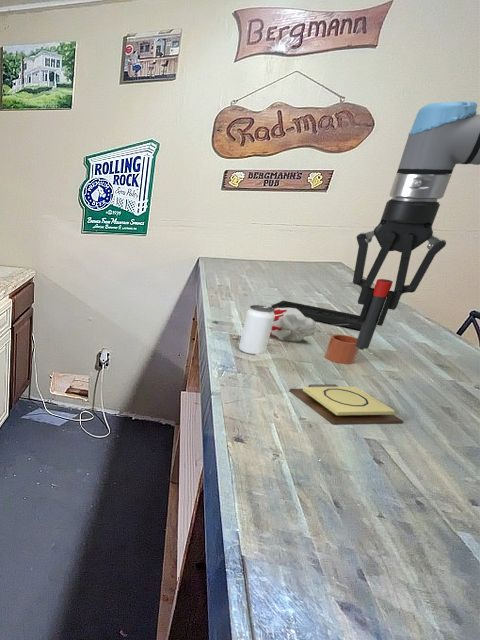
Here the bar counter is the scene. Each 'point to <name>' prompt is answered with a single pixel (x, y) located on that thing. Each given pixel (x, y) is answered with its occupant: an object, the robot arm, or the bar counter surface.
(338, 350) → the pen cup
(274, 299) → the bar counter surface
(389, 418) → the clipboard
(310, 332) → the grey lumpy piece
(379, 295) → the marker
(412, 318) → the bar counter surface
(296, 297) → the bar counter surface
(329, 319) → the black long bar
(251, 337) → the can
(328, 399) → the notepad
